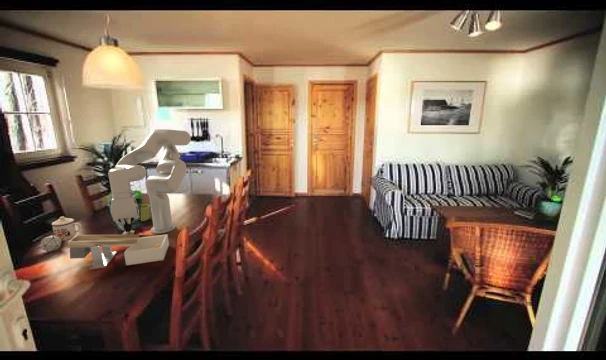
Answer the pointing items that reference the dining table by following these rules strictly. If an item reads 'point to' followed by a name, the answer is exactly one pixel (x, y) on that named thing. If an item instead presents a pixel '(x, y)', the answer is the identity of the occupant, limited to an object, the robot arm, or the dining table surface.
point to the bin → (147, 250)
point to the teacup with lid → (65, 228)
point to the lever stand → (101, 256)
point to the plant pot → (144, 212)
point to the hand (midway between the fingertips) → (128, 230)
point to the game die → (50, 243)
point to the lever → (99, 242)
